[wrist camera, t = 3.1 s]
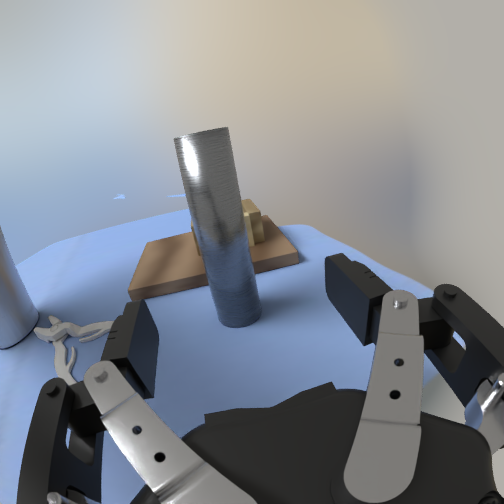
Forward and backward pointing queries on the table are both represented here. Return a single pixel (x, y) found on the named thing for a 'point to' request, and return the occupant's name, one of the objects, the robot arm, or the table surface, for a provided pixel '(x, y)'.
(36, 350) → the table surface
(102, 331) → the pliers
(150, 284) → the socket board
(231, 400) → the table surface
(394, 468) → the robot arm
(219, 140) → the steel pin
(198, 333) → the table surface
